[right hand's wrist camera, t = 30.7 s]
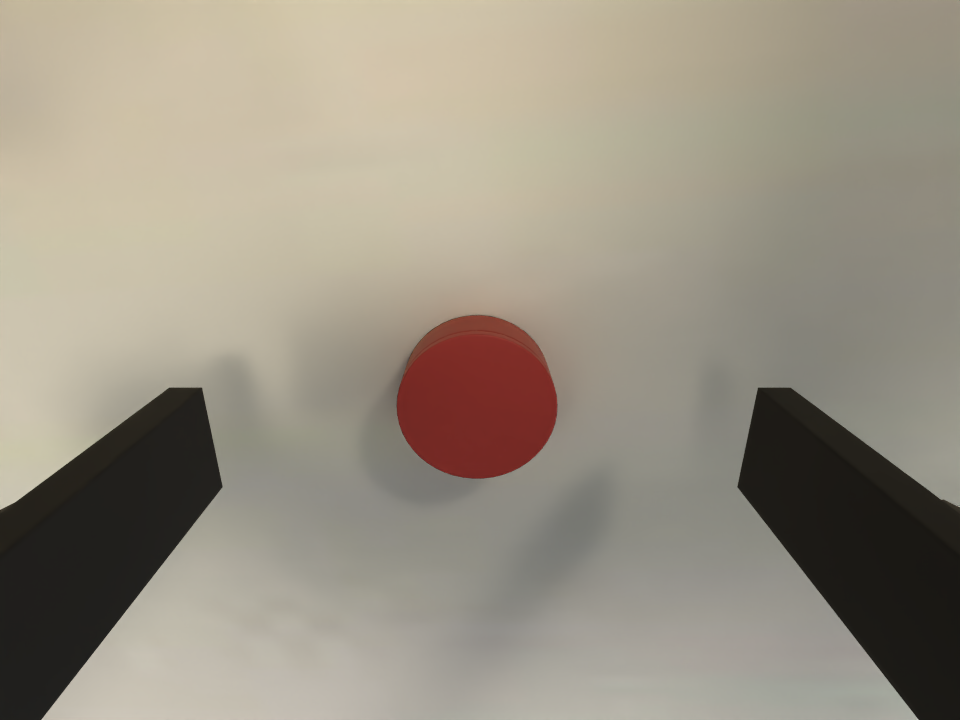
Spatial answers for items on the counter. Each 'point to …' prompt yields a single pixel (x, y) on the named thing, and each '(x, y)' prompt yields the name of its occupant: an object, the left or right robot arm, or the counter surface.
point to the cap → (477, 398)
